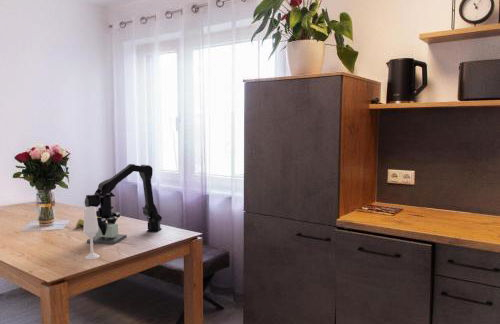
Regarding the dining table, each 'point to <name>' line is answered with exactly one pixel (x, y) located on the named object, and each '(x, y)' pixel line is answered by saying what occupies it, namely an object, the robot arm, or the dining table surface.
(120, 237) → the base plate
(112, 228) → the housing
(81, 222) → the yellow banana
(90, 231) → the champagne flute
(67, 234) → the dining table surface
